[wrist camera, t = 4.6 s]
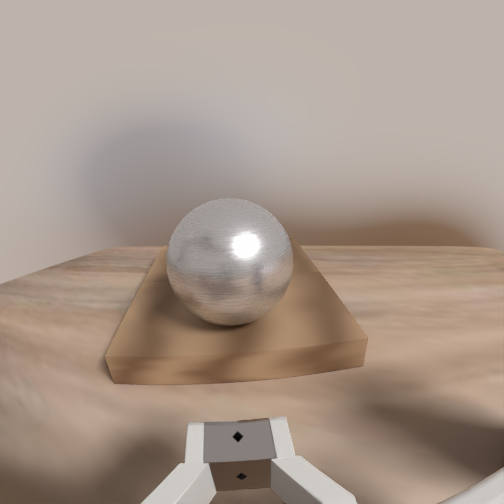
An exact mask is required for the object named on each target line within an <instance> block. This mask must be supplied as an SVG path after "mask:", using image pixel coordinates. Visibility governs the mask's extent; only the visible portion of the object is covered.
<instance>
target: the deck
mask: <svg viewBox="0 0 504 504" xmlns="http://www.w3.org/2000/svg"><path fill="white" fill-rule="evenodd" d="M289 241H290V243H291V247H292V252H293V272H292V277H291V281H290V284H289V286H288V289H287V291H286V292H285V294H284V296H283V297H282V299H281V300H280V302H279V303H278V304H277V305H276V306H275V307H274V308H273V309H272V310H271V311H270V312H268V313H267V314H266V315H264V316H262V317H261V318H259V319H257V320H255V321H252V322H249V323H246V324H241V325H234V326H227V325H219V324H214V323H210V322H208V321H205V320H203V319H201V318H199V317H197V316H196V315H194V314H193V313H191V312H190V311H189V310H188V309H187V308H186V307H185V306H183V304H182V303H181V302H180V301H179V299H178V298H177V297H176V295H175V293H174V291H173V289H172V287H171V285H170V282H169V279H168V274H167V266H166V257H167V250H168V246H163V247H162V249H161V251H160V252H159V254H158V256H157V258H156V259H155V261H154V263H153V265H152V266H151V268H150V270H149V272H148V274H147V275H146V277H145V279H144V281H143V283H142V284H141V286H140V288H139V290H138V292H137V294H136V296H135V297H134V299H133V301H132V303H131V305H130V307H129V309H128V311H127V313H126V314H125V316H124V318H123V320H122V322H121V324H120V326H119V328H118V330H117V332H116V334H115V336H114V338H113V340H112V342H111V344H110V346H109V348H108V350H107V352H106V354H105V359H106V362H107V365H108V368H109V371H110V373H111V376H112V379H113V382H114V383H115V384H153V385H171V384H209V383H228V382H242V381H255V380H266V379H276V378H285V377H293V376H301V375H309V374H316V373H323V372H329V371H336V370H342V369H348V368H353V367H359V366H363V363H364V358H365V352H366V347H367V341H368V337H367V336H366V334H365V333H364V332H363V330H362V329H361V327H360V326H359V325H358V323H357V322H356V320H355V319H354V318H353V316H352V315H351V314H350V312H349V311H348V309H347V308H346V307H345V305H344V304H343V303H342V301H341V300H340V299H339V297H338V296H337V294H336V293H335V292H334V290H333V289H332V288H331V286H330V285H329V284H328V282H327V281H326V280H325V278H324V277H323V276H322V274H321V273H320V272H319V270H318V269H317V268H316V266H315V265H314V264H313V262H312V261H311V260H310V259H309V257H308V256H307V255H306V253H305V252H304V251H303V249H302V248H301V247H300V245H299V244H298V243H297V242H296V240H295V239H294V238H289Z"/></svg>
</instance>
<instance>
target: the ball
mask: <svg viewBox="0 0 504 504" xmlns="http://www.w3.org/2000/svg"><path fill="white" fill-rule="evenodd" d="M166 266H167V274H168V279H169V282H170V285H171V287H172V289H173V291H174V293H175V295H176V297H177V298H178V299H179V301H180V302H181V303H182V304H183V306H185V307H186V308H187V309H188V310H189V311H190V312H191V313H193V314H194V315H196V316H197V317H199V318H201V319H203V320H205V321H208V322H210V323H214V324H219V325H227V326H234V325H241V324H246V323H249V322H252V321H255V320H257V319H259V318H261V317H262V316H264V315H266V314H267V313H268V312H270V311H271V310H272V309H273V308H274V307H275V306H276V305H277V304H278V303H279V302H280V300H281V299H282V297H283V296H284V294H285V292H286V291H287V289H288V286H289V284H290V281H291V277H292V272H293V252H292V247H291V243H290V241H289V238H288V236H287V234H286V232H285V230H284V228H283V227H282V225H281V224H280V222H279V221H278V220H277V219H276V218H275V217H274V216H273V215H272V214H271V213H270V212H268V211H267V210H266V209H264V208H262V207H261V206H259V205H257V204H254V203H252V202H250V201H246V200H242V199H232V198H225V199H218V200H213V201H210V202H207V203H205V204H203V205H201V206H199V207H197V208H195V209H194V210H192V211H191V212H190V213H189V214H187V215H186V217H184V218H183V220H182V221H181V222H180V223H179V225H178V226H177V227H176V229H175V231H174V232H173V234H172V237H171V239H170V242H169V245H168V250H167V257H166Z"/></svg>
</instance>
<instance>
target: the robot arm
mask: <svg viewBox="0 0 504 504" xmlns="http://www.w3.org/2000/svg"><path fill="white" fill-rule="evenodd" d="M260 488H271V490H272V491H273V492H274V493H275V494H276V495H277V496H278V497H279V498H280V499H281V500H282V501H283V502H284V503H285V504H357V502H356V499H355V496H354V495H353V494H351V493H350V492H348V491H347V490H346V489H344V488H343V487H341V486H340V485H339V484H337V483H336V482H334V481H333V480H332V479H330V478H329V477H328V476H326V475H325V474H324V473H322V472H321V471H320V470H318V469H317V468H316V467H314V466H313V465H312V464H311V463H309V462H308V461H307V460H305V459H304V458H303V457H302V456H300V455H299V456H295V452H294V448H293V444H292V440H291V435H290V431H289V427H288V423H287V419H286V417H285V416H283V417H274V418H269V419H268V418H263V419H253V420H241V421H232V422H189V423H188V425H187V434H186V446H185V460H184V463H179V464H178V465H177V466H176V468H175V469H174V470H173V471H172V472H171V473H170V474H169V475H168V476H167V477H166V478H165V479H164V480H163V481H162V482H161V483H160V484H159V485H158V487H157V488H156V489H155V490H154V491H153V492H152V493H151V494H150V495H149V496H148V497H147V498H146V499H145V500H144V501H143V502H142V503H141V504H209V503H210V502H211V500H212V499H213V497H214V496H215V494H216V491H230V490H243V489H260ZM437 504H504V467H503V468H501V469H500V470H498V471H496V472H495V473H493V474H492V475H490V476H488V477H487V478H485V479H483V480H482V481H480V482H478V483H476V484H475V485H473V486H471V487H469V488H467V489H465V490H464V491H462V492H460V493H458V494H456V495H454V496H452V497H450V498H448V499H446V500H444V501H442V502H439V503H437Z"/></svg>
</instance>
